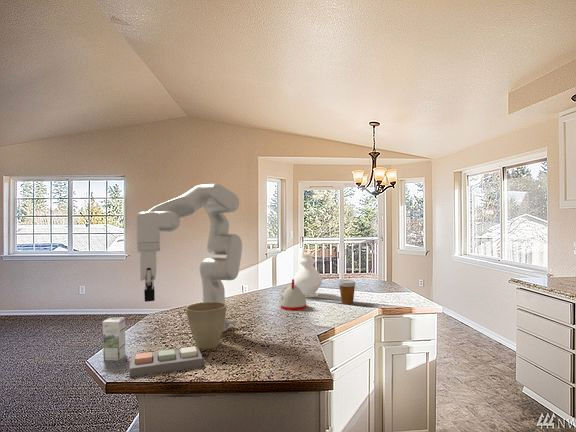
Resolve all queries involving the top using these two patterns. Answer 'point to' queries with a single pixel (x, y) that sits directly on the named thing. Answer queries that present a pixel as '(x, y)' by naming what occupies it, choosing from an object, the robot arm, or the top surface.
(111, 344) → the syrup box
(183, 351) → the cream button
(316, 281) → the decorative vase
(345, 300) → the disposable coffee cup
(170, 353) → the sage button
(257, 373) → the top surface
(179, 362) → the button panel
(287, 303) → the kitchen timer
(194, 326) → the plant pot
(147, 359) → the terracotta button
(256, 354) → the top surface
